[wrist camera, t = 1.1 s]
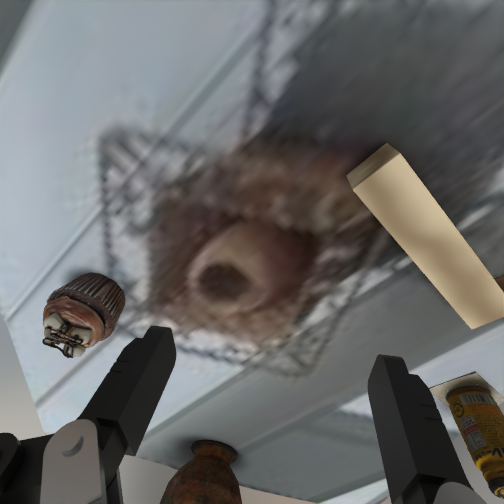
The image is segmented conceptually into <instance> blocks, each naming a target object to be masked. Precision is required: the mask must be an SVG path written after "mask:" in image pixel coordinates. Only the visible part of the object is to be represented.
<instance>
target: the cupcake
mask: <svg viewBox="0 0 504 504" xmlns="http://www.w3.org/2000/svg"><path fill="white" fill-rule="evenodd" d="M46 302H48V303H47V305H46V306H45V308H44V312H43V325H44V328H45V330H44V336H45V339H43V341H42V342H43V344H45V345H47V346H50V347H53V348H57V349H59V350H60V351H61V352H62V353H63V355H64V356H65V357H67V358H73V356H74V357H79V356H81V355H82V354H83V353H84V352H85V349H86V348H89V347H92V346H94V345H95V344H96V343H97V342H98V341H102V340H105V339H106V338H108V337H109V336H110V335H111V334H112V333H113V331H114V330H115V327H116V324H117V321H118V318H119V316H120V314H121V312H122V310H123V308H124V305H125V295H124V292H123V291H122V289H121V288H120V286H118V285H117V283H116V282H115V281H113V280H111V279H109V278H107V277H106V276H104V275H101V274H97V273H88V274H84V275H82V276H80V277H78V278H77V279H75V280H73V281H72V282H70V283H68V284H66V285H65V286H63V287H61V288H59V289H57V290H55V291H53V293H52V294H51V295H50V296H49V299H48V300H47V301H46ZM60 343H63V344H65V345H64V348H63V350H62V349H61V348H59V347H58V346H55V344H58V345H59V344H60Z"/></svg>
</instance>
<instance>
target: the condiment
mask: <svg viewBox="0 0 504 504" xmlns="http://www.w3.org/2000/svg"><path fill="white" fill-rule="evenodd" d="M477 384H478V385H477ZM448 389H449V390H448ZM447 390H448V392H447ZM430 391H431V393H432V394H433V395H434V396H436V397H437V398H438V399H439V400H440V401H442V402H443V403H444V404H446V405H447V406H448V407H449V408H450V410H451V413H452V415H453V418H454V420H455V422H456V424H457V427H458V428H459V430H460V432H461V435H462V437H463V439H464V441H465V443H466V445H467V448H468V451H469V452H470V455H471V457H472V459H473V461H474V463H475V465H476V466H477V468H478V469H479V470H480V471H482V472H483V476H484V478H485V480H486V481H487V483H488V485H489V488H490V490H491V492H492V493H493V494H494V495H496V496H497V497H499V498H502V499H504V415H503V414H502V412H501V410H500V408H499V407H498V405H497V403H499V402H502V401H504V398H503V397H502V396H501V395H500V394H499V393H498V392H497V391H496V390H495V389H493V388H492V387H491V386H490V385H489V384H488V383H487V382H486V381H485V380H484V379H482V378H481V377H480V376H479V375H478V374H477V373H474V374H471V375H467V376H463V377H461V378H457V379H454V380H451V381H449V382H445V383H443V384H441V385H437V386H435V387H433V388H430Z"/></svg>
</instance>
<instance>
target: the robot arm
mask: <svg viewBox="0 0 504 504" xmlns="http://www.w3.org/2000/svg"><path fill="white" fill-rule="evenodd" d="M175 361H176V348H175V343H174V339H173V334H172V330H171V328H168V327H160V326H151V327H150V328H149V329H148V330H147V332H146V334H145V335H144V337H143V338H135V339H134V340H133V341H132V342H130V343H129V344H128V345H127V346H126V347H125V348H124V349H123V351H122V352H121V354H120V355H119V357H118V358H117V361H116V362H115V363H114V364H113V366H112V368H111V369H110V372H109V373H108V374H107V375H106V377H105V378H104V380H103V381H102V383H101V384H100V386H99V388H98V389H97V391H96V392H95V394H94V395H93V397H92V398H91V400H90V401H89V403H88V404H87V406H86V408H85V409H84V411H83V412H82V413H81V415H80V416H79V417H78V418H77V419H76V420H75V421H72V422H70V423H68V424H66V425H65V426H63V427H62V428H60V429H59V430H58V431H57V432H56V433H54V434H50V435H46V436H41V437H36V438H31V439H26V440H20V441H19V440H18V439H17V438H16V437H15V436H14V435H13V434H11V433H0V504H123V496H122V488H121V480H120V472H119V465H120V463H121V461H122V459H123V457H124V455H131V456H135V455H136V453H137V451H138V448H139V446H140V444H141V441H142V439H143V437H144V434H145V432H146V430H147V428H148V425H149V423H150V421H151V418H152V416H153V414H154V411H155V409H156V407H157V405H158V402H159V400H160V398H161V395H162V393H163V391H164V388H165V386H166V384H167V382H168V379H169V377H170V375H171V372H172V370H173V368H174V365H175ZM368 395H369V400H370V405H371V410H372V414H373V419H374V424H375V428H376V433H377V438H378V442H379V447H380V452H381V456H382V461H383V465H384V470H385V475H386V479H387V484H388V489H389V493H390V498H391V503H392V504H487V503H486V502H485V501H484V500H483V499H482V498H481V497H480V496H479V495H478V494H477V493H476V492H475V491H474V490H473V488H472V487H471V485H470V484H469V482H468V480H467V478H466V475H465V473H464V471H463V468H462V466H461V463H460V461H459V459H458V457H457V454H456V451H455V449H454V447H453V444H452V442H451V439H450V437H449V435H448V432H447V430H446V427H445V425H444V423H443V422H442V418H441V415H440V413H439V410H438V409H437V406H436V403H435V401H434V398H433V396H432V394H431V391H430V389H429V388H428V387H427V386H426V384H425V383H424V382H423V381H422V379H421V378H420V377H419V376H418V375H414V374H409V373H408V370H407V367H406V364H405V362H404V360H403V359H402V358H401V357H397V356H388V355H380V354H379V355H378V356H377V358H376V361H375V364H374V366H373V369H372V371H371V374H370V376H369V379H368Z"/></svg>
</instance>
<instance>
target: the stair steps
mask: <svg viewBox="0 0 504 504" xmlns="http://www.w3.org/2000/svg"><path fill="white" fill-rule="evenodd" d="M494 280H495V281H496V283H497V284H498V285H499V287H500V288H501V289H502V291H503V292H504V276H501V277H499V278H496V279H494Z"/></svg>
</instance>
